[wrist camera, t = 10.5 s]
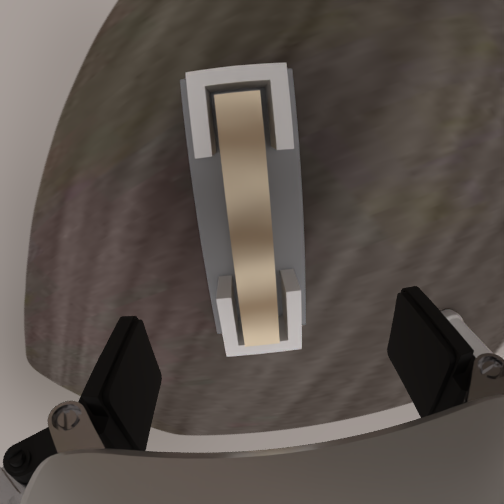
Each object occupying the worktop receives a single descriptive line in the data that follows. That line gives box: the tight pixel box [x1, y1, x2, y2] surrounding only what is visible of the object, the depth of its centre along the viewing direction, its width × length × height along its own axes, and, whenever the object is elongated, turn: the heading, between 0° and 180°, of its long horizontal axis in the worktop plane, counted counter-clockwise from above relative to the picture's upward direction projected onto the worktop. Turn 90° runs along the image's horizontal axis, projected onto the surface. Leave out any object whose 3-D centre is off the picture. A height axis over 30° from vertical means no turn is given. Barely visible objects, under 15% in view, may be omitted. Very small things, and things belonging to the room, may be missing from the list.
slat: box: [214, 90, 280, 347], centre depth 24 cm, size 20×3×4 cm, turn 5°
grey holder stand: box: [180, 63, 306, 357], centre depth 25 cm, size 24×9×6 cm, turn 5°
